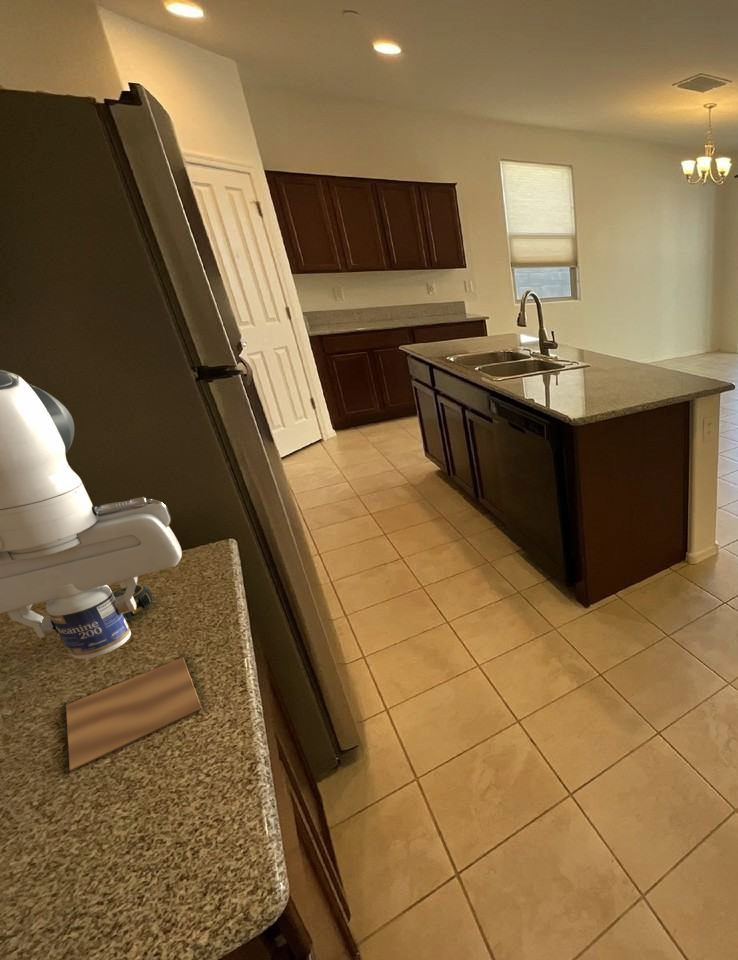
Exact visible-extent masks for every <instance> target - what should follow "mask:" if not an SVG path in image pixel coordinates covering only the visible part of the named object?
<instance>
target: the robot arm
mask: <svg viewBox="0 0 738 960" xmlns="http://www.w3.org/2000/svg"><path fill="white" fill-rule="evenodd" d="M74 436H75V423H74V419H73V417H72V414H71V413H70V411H69V409H67V408H66V406H65V405H64V404H63V403H62V402H60V400H58V399H57V398H56V397H54V396H53V395H51V394H50V393H49V392H46V391H45V390H43V389H41V388H39V387H37V386H35V385H32V383H31V384H30V383H29V382H26V380H25V379H23V378H22V376H20V375H18V374H16V373H13V372H10V371H7V370H3V369H0V614H3V613H7V615H8V617H9V619H10V620H12V621H14V622H17V623H19V624H22V625H24V626H27V627H29V628H33V630H34V632H35V633H36V636H37V638H38V639H42V638H43V639H44V638H46V637H49V636H52V635H57V634H59V632H58V631H57V629H56V627H55V625H54V623H53V621H52V619H51V618H50V616H49V615H47V616H43V615H41V614H39V613H38V612H37V613H36V612H35V611H33V610H31V609H32V607H33V605H38V604H41V603H45V602H48V601H49V600H52V599H56V598H59V597H60V596H59V595H60V593H61V591H60V589H59V587H61V586H65V585H68V584H73V585H74V587H75V588H76V589H78V590H80V591H86V590H89V589H93V588H97V587H101V586H104V585H107V586H109V585H111V584H115V583H117V584H118V585H119V588H120V587H121V588H126V587H127V588H126V591H125V593H124V595H122V596H118V597H116V598H115V600H116V601H115V602H114V605H115V607H116V609H118V613H119V614H124V613H127V612H131V611H134V610H136V602H135V600H134V598H133V593H134V590H135V588H136V585H138V579H139V578H138V577H141V576H145V575H150V574H152V573H156V572H159V571H164V570H168V569H171V568H174V567H176V566H177V565H178V564H179V562H180V561H181V559H182V556H183V552H182V547H181V545H180V542H179V541H178V539H177V537H176V535H175V533H174V532H173V530H172V529H171V527H170V525H171V523H172V516H171V514H170V512H169V511H170V510H169V509H168V507H167V505H166V504H164V503H163V502H162V501H160V500H157V499H153V498H146V497H145V496H141V497H135V498H134V497H133V498H131V499H129V500H125V501H119V502H110V503H105V504H100V505H95V506H94V505H93V502H92V501H91V498H90V496H89V494H88V492H87V490H86V488H85V485H84V483H83V481H82V479H81V477H80V476H79V475H78V474H77V473H76V472H75V471H74V470H73V469H72V467H71V466H70V465H69V462H68V460H67V456H66V455H67V454H68V452H69V450H70V448H71V447H72V444H73V441H74V438H75V437H74Z"/></svg>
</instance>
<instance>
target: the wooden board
mask: <svg viewBox="0 0 738 960" xmlns="http://www.w3.org/2000/svg"><path fill="white" fill-rule="evenodd" d="M201 710H203V707H202V705H201V702H200V699H199V696H198V694H197V691H196V688H195V685H194V682H193V680H192V677H191V675H190V672H189V670H188V666H187V663H186V660H185V658H184V657H180V658H178V659H175V660H173V661H170V662H168V663H165V664H163V665H161V666H158V667H156V668H152V669H151V670H149V671H145V672H143V673H141V674H138V675H135V676H133V677H131V678H129V679H126V680H124V681H122V682H119V683H116V684H114V685H112V686H109V687H107V688H104V689H101V690H99V691H97V692H94V693H92V694H90V695H87V696H85V697H82V698H79V699H77V700H75V701H72V702H69V703H68V704H66V705H65V712H66V713H65V714H66V729H67V731H66V733H67V749H68V763H69V765H68V766H69V772H71V771H74V770H76V769H78V768H81V767H82V766H84V765H86V764H89V763H91V762H92V761H95V760H97V759H99V758H102V757H103V756H105V755H107V754H110V753H112V752H114V751H116V750H118V749H121V748H123V747H125V746H127V745H129V744H132V743H133V742H135V741H138V740H140V739H142V738H144V737H146V736H148V735H150V734H152V733H154V732H155V733H156V731H159V730H160V729H163V728H165V727H168V726H169V725H170V726H171V725H172V724H174V723H176V722H178V721H181V720H182V719H185V718H186V717H188V716H191V715H193V714H195V713H197V712H199V711H201Z"/></svg>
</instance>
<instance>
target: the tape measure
mask: <svg viewBox="0 0 738 960" xmlns="http://www.w3.org/2000/svg"><path fill="white" fill-rule="evenodd" d="M126 588H127V587H126ZM126 588H121V587H120V586H119V587H117V588H114V589H111V591H112V593H113V595H114V597H115V598H116V597H118V596H122V595H124V593H125V591H126ZM133 598H134V600H135V602H136V610H134V611H131V612H127V613H124V614H123V616H124V618H125V620H126V622H128V621H129V620H130V619H131V618H132V617H134V616H136V615H137V616H138V615H139V614H141V613H143V612H145V611H146V610H147V609H149V607H151V605H152V604H153V599H154V595H153V593H152V591H151V590H150V588H148V587H147V586H145V585H144V584H137V585H136V588H135V590H134V593H133Z"/></svg>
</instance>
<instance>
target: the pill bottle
mask: <svg viewBox="0 0 738 960" xmlns="http://www.w3.org/2000/svg"><path fill="white" fill-rule="evenodd" d="M59 589H60V591H61V593H60V595H59V596H60V597H59V598H56V599H52V600H48V601H47V603H46V605H45V610H46V613H47V614H48V616H50V618H51V619H52V621H53V623H54V625H55V627H56V629H57V631H58V632H59V633H58V634H59V637H60V638H61V640H62V642H63V643H64V646H65V647H66V649H67V651H68V652H69V655H70V656H71V657H72V658H75V659H79V660H84V659H91V658H96V657H100V656H103V655H105V654H108V653H111V652H112V651H114V650H117V649H118V648H120V647H121V646H122V645H124V644H125V643H126V642H128V640H129V639H130V638H131V635H132V632H131V629H130V627H129V625H128V621H126V620H125V618H124V616H123V614H119V613H118V609H116V607H115V605H114V602H115V601H116V600H115V597H114V595H113V593H112V591H111V590H112V589H111V587H109V585H104V586H101V587H97V588H93V589H89V590H86V591H80V590H78V589H76V588H75V587H74V585H73V584H68V585H65V586H61V587H59Z"/></svg>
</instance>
